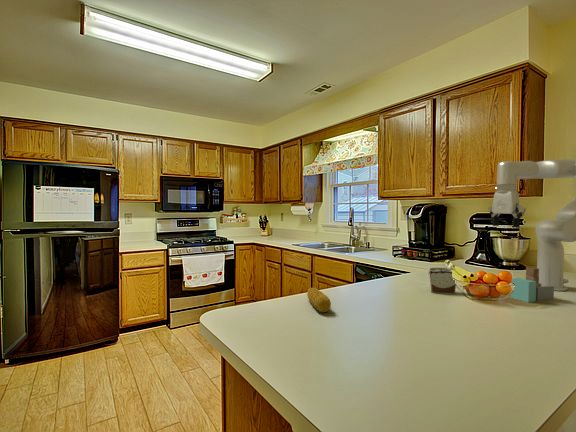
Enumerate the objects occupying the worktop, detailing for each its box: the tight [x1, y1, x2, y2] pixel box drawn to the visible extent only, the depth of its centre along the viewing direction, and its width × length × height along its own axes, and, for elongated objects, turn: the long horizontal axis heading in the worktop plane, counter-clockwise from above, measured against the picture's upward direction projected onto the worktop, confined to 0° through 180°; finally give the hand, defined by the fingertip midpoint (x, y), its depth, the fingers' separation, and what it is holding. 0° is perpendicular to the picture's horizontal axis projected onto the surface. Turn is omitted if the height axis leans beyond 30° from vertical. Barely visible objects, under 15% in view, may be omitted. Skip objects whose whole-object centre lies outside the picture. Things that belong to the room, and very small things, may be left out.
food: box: [306, 287, 332, 313], centre depth 118 cm, size 21×6×6 cm, turn 10°
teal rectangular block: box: [510, 277, 537, 303], centre depth 128 cm, size 4×7×8 cm, turn 18°
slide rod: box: [525, 266, 539, 287], centre depth 129 cm, size 7×3×9 cm, turn 108°
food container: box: [427, 267, 457, 295], centre depth 139 cm, size 12×6×10 cm, turn 84°
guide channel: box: [536, 283, 555, 302], centre depth 131 cm, size 9×6×5 cm, turn 108°
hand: (505, 226), depth 146 cm, fingers open, 9 cm apart
